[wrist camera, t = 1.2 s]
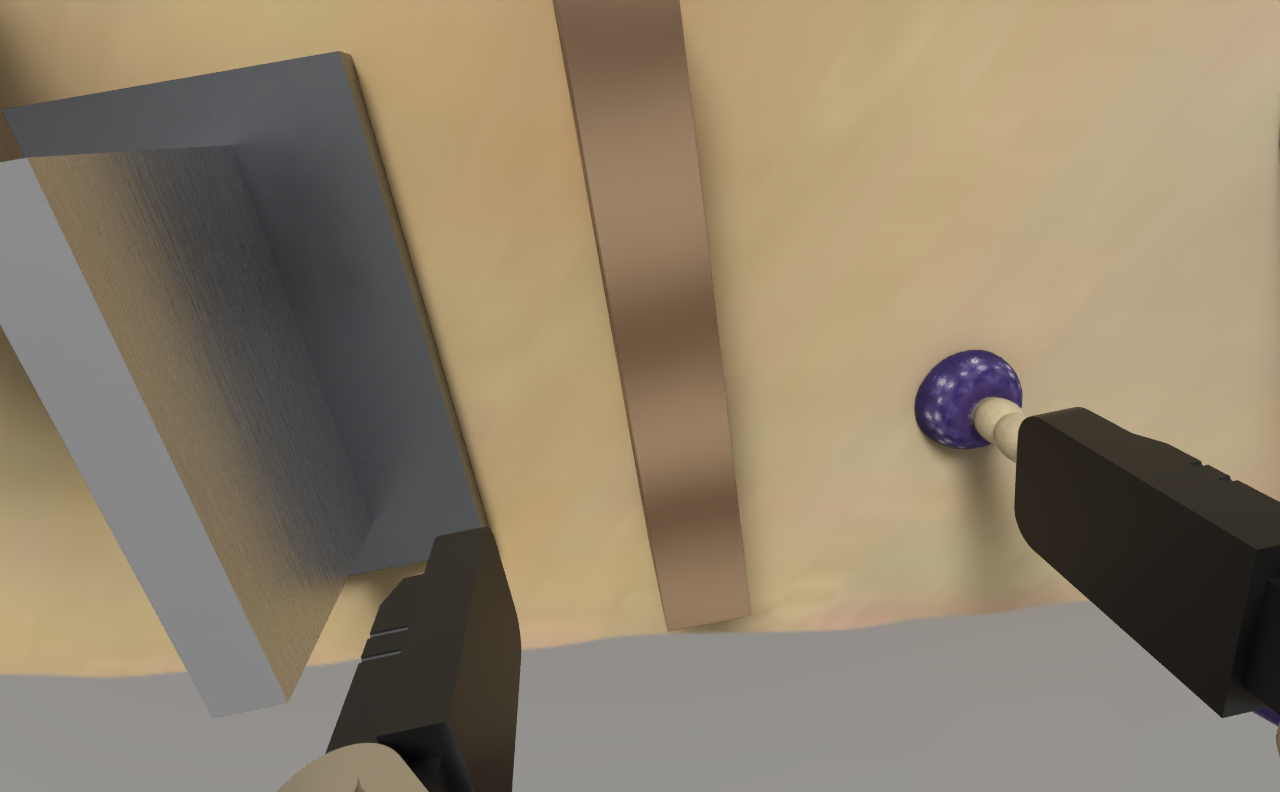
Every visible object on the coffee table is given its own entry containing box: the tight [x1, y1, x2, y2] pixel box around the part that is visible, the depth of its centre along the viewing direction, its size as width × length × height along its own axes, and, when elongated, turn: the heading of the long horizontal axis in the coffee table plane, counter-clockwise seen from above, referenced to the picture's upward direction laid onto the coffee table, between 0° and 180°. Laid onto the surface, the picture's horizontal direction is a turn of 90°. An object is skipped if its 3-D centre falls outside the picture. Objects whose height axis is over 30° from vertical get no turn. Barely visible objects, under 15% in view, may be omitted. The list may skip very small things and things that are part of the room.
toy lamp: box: [915, 350, 1280, 726], centre depth 21 cm, size 5×5×17 cm
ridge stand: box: [0, 51, 489, 718], centre depth 20 cm, size 10×18×10 cm, turn 10°
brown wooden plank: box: [553, 0, 751, 632], centre depth 23 cm, size 22×3×6 cm, turn 9°
